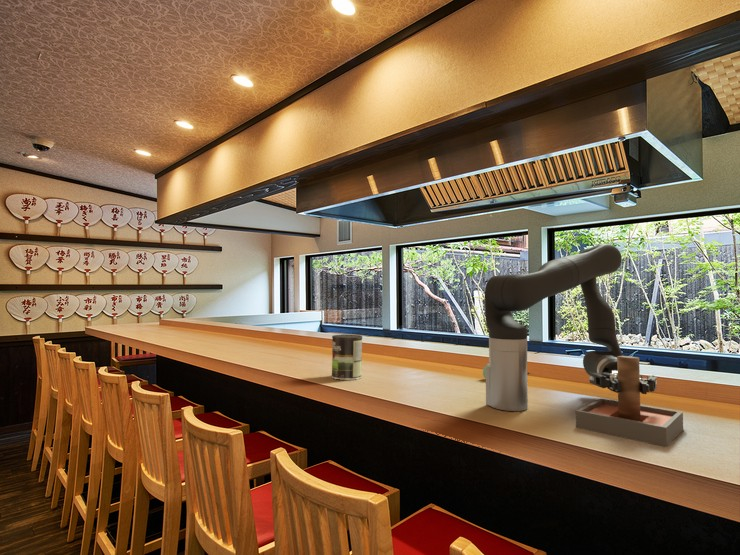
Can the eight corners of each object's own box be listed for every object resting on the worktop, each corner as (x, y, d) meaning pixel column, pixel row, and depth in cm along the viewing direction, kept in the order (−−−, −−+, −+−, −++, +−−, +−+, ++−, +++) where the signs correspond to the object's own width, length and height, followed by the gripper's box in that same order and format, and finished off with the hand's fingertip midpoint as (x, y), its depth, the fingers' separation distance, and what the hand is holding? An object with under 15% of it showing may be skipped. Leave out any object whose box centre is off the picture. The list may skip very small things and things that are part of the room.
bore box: (575, 427, 89) (575, 410, 89) (600, 413, 100) (600, 398, 100) (666, 446, 77) (666, 427, 78) (683, 428, 89) (682, 412, 89)
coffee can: (338, 381, 135) (339, 337, 136) (327, 376, 144) (327, 335, 145) (367, 379, 140) (367, 336, 140) (354, 374, 149) (354, 334, 149)
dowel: (616, 423, 89) (614, 357, 90) (621, 419, 92) (620, 355, 92) (637, 427, 86) (636, 359, 87) (642, 423, 89) (641, 357, 89)
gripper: (583, 356, 105) (593, 367, 89) (649, 360, 100) (672, 372, 84) (583, 386, 105) (593, 403, 89) (649, 391, 100) (673, 410, 84)
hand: (631, 388), depth 87 cm, fingers closed on dowel, 4 cm apart
